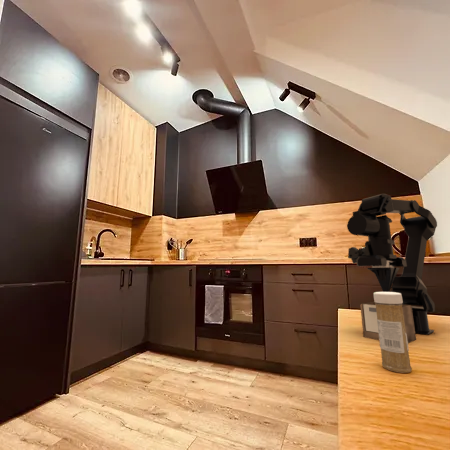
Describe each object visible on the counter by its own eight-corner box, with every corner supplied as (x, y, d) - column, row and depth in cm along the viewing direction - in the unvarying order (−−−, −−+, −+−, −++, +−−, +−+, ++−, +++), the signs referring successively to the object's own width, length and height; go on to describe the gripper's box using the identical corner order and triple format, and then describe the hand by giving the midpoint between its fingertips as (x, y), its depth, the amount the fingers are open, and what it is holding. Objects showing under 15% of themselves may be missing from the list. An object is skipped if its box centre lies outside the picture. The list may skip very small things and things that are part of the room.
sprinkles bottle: (416, 370, 44) (405, 292, 47) (405, 376, 42) (394, 293, 44) (388, 362, 48) (380, 291, 50) (376, 367, 45) (368, 292, 48)
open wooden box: (376, 332, 72) (373, 302, 73) (416, 339, 64) (411, 305, 66) (363, 336, 67) (360, 304, 69) (404, 344, 60) (400, 308, 61)
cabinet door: (367, 330, 67) (364, 304, 69) (401, 336, 61) (397, 307, 62) (365, 330, 67) (362, 304, 68) (399, 336, 60) (396, 307, 62)
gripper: (365, 242, 84) (370, 290, 81) (335, 238, 73) (340, 292, 70) (403, 238, 75) (411, 292, 72) (376, 233, 64) (384, 295, 61)
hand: (386, 292), depth 69 cm, fingers closed
